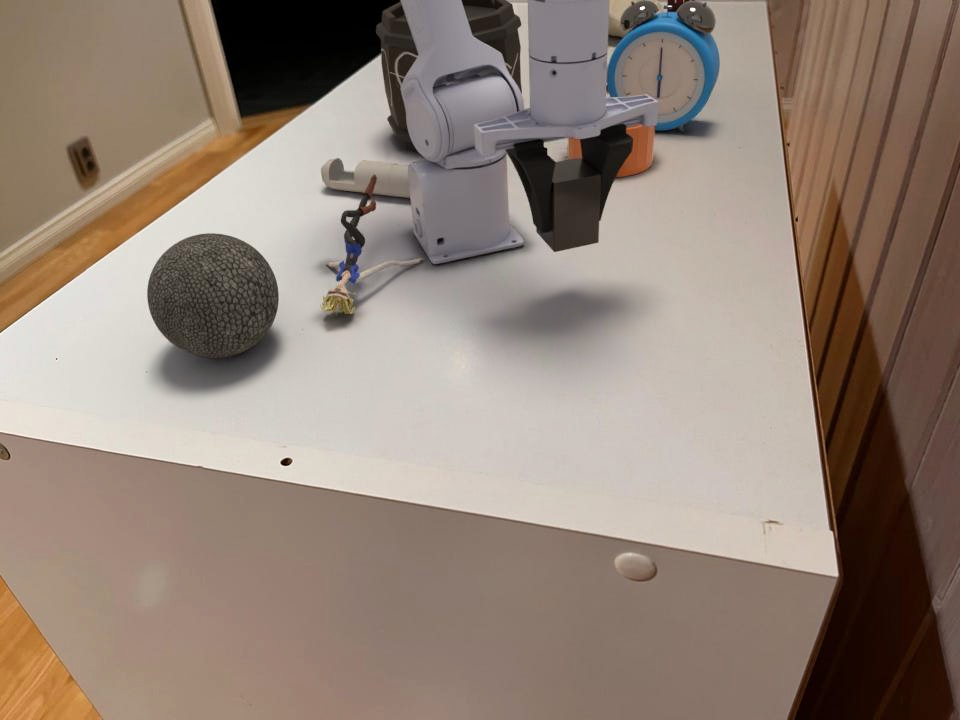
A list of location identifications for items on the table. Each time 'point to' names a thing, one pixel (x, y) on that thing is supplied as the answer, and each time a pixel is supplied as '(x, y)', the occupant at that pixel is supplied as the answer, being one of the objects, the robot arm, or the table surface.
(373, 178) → the figurine
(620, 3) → the decorative stone
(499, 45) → the wooden barrel
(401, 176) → the white notched cylinder
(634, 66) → the alarm clock
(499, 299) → the table surface
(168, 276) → the decorative ball
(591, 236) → the block
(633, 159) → the cup
